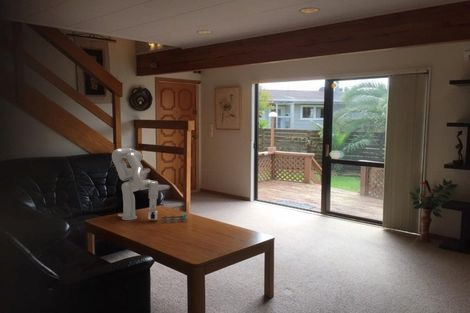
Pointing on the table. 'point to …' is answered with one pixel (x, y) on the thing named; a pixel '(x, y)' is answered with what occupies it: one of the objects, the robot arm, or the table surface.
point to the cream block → (150, 215)
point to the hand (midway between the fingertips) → (152, 217)
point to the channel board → (174, 219)
